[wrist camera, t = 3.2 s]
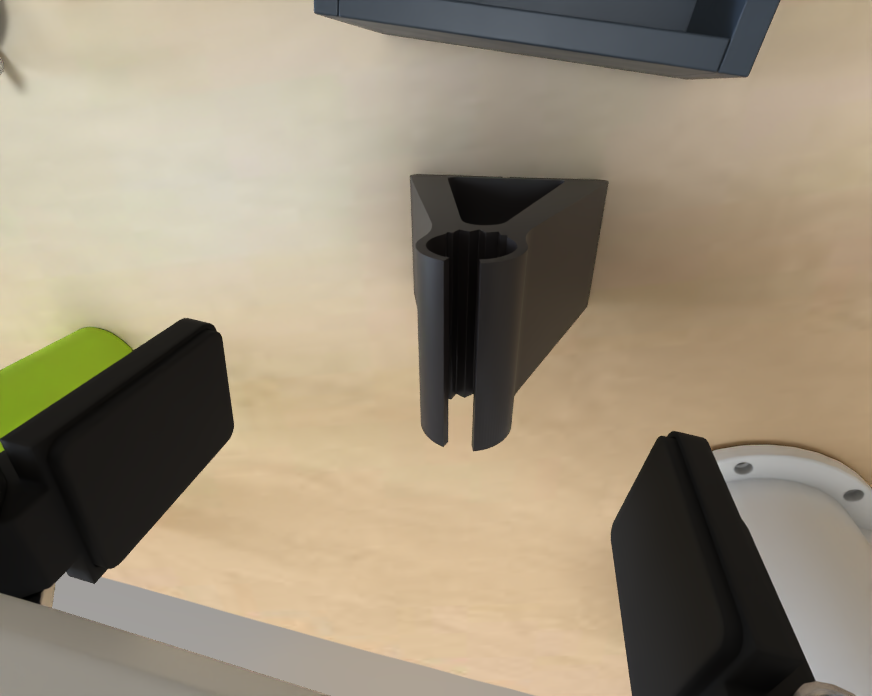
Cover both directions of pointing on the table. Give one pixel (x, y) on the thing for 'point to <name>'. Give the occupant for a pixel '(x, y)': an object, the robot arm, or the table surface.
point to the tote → (583, 30)
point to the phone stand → (496, 287)
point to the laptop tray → (1, 66)
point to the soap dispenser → (54, 374)
